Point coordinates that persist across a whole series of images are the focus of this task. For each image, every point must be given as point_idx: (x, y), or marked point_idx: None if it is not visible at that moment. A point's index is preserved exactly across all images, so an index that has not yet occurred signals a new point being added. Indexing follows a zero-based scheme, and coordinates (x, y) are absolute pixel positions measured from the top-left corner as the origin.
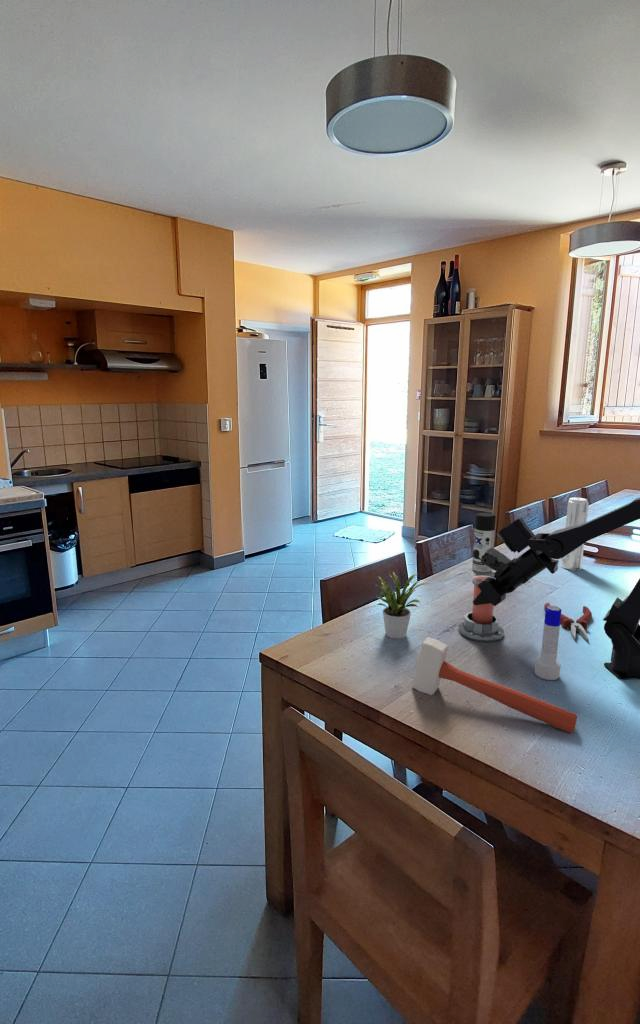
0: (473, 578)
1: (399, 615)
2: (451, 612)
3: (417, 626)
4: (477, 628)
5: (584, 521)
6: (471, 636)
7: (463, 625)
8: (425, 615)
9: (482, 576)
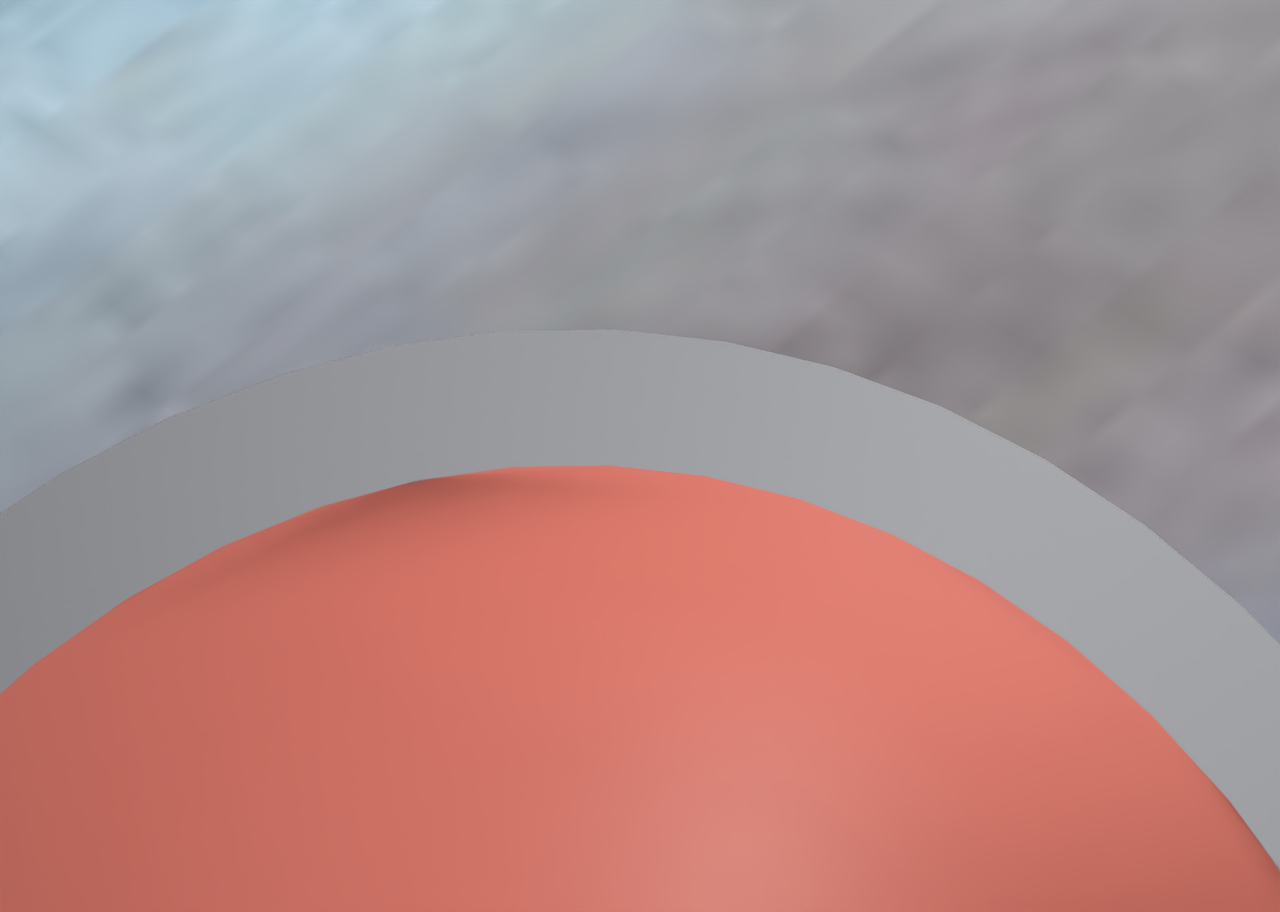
0: (24, 586)
1: None
2: (765, 187)
3: (173, 224)
4: None
5: None
6: None
7: None
8: (470, 92)
9: (1001, 683)
